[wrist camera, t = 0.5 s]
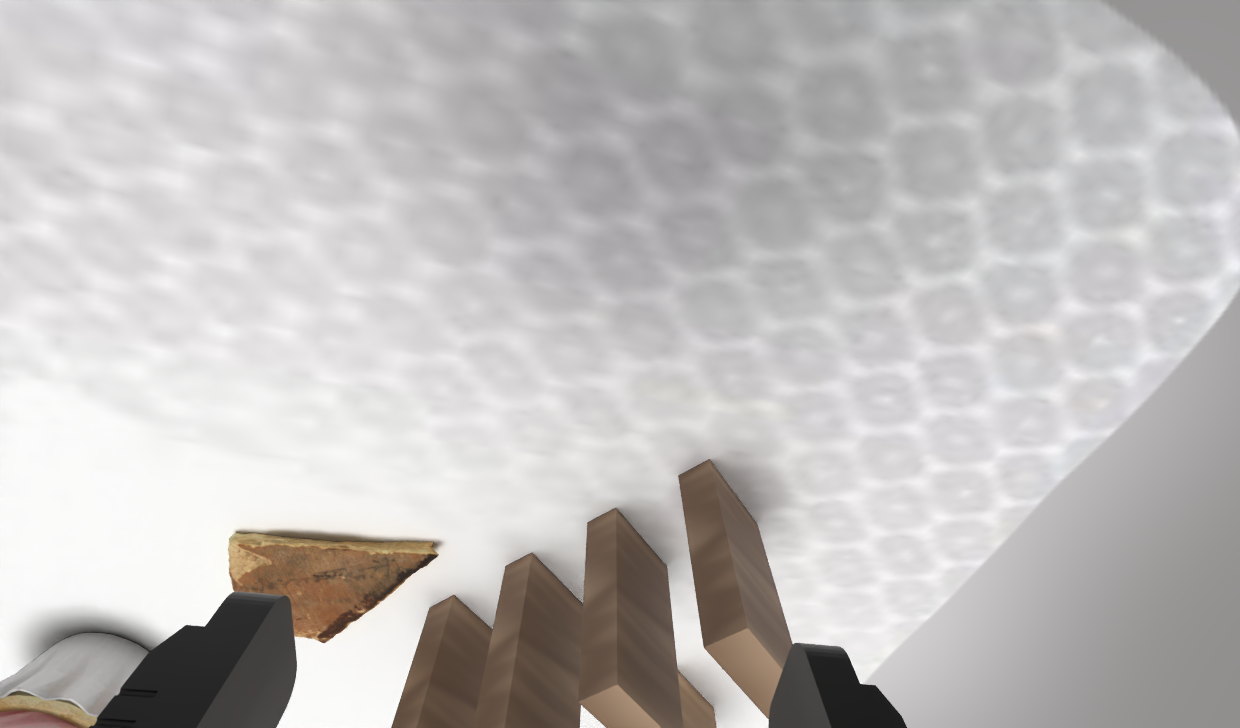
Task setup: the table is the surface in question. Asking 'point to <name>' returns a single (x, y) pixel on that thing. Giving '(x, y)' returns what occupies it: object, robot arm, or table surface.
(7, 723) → the cupcake
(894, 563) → the table surface
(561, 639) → the domino
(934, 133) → the table surface
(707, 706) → the domino
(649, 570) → the domino
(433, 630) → the domino
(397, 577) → the shard
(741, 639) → the domino
